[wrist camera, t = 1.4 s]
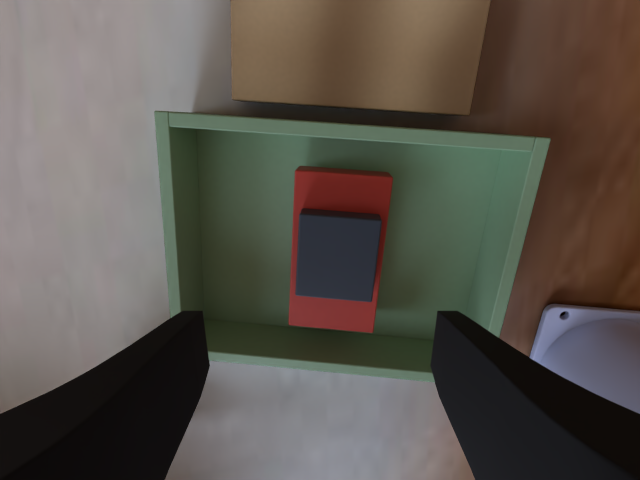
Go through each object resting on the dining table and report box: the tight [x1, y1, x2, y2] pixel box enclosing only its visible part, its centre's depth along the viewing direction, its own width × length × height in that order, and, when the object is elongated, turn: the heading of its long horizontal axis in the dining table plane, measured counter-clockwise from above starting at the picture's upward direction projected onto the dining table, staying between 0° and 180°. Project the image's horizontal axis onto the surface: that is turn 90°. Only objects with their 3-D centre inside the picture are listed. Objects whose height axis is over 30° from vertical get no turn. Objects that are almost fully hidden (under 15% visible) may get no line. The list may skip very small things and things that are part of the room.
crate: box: [154, 111, 551, 382], centre depth 18 cm, size 16×12×4 cm
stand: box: [231, 0, 491, 116], centre depth 16 cm, size 11×8×2 cm
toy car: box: [288, 166, 393, 333], centre depth 18 cm, size 4×8×3 cm, turn 176°
